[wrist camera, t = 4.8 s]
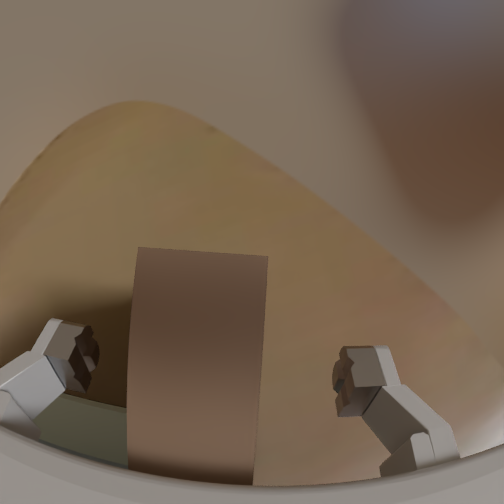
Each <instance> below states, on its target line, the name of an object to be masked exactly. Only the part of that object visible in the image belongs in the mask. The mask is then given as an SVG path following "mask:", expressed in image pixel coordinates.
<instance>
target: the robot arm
mask: <svg viewBox="0 0 504 504" xmlns="http://www.w3.org/2000/svg"><path fill="white" fill-rule="evenodd" d="M92 335H93V331H92V328H91V326H89V325H84V324H79V323H75V322H70V321H65V320H60V319H55V318H52V319H50V320H49V321H48V322H47V324H46V326H45V327H44V329H43V331H42V332H41V334H40V336H39V338H38V339H37V341H36V343H35V344H34V346H33V348H32V350H31V352H30V351H26V352H25V353H23V354H22V355H20V356H19V357H17V358H15V359H14V360H12V361H11V362H9V363H8V364H6V365H5V366H3V367H2V368H0V504H504V444H501V445H499V446H496V447H493V448H491V449H488V450H485V451H482V452H479V453H476V454H473V455H470V456H467V457H464V458H460V455H459V451H458V448H457V445H456V441H455V438H454V435H453V432H452V429H451V426H450V425H449V424H448V423H447V422H446V421H445V420H444V419H442V418H441V417H440V416H439V415H438V414H437V413H436V412H435V411H434V410H433V409H431V408H430V407H429V406H428V405H427V404H426V403H425V402H424V401H423V400H421V399H420V398H419V397H418V396H417V395H416V394H415V393H414V392H413V391H412V390H410V389H409V388H408V387H407V386H406V385H401V383H400V380H399V377H398V374H397V371H396V368H395V365H394V362H393V359H392V356H391V353H390V350H389V348H388V347H387V346H343V347H342V348H341V350H340V353H339V356H340V360H338V361H337V362H335V365H334V368H333V374H332V383H333V389H334V390H335V391H336V392H337V393H338V396H337V398H336V400H335V403H336V409H337V415H338V417H355V416H362V418H363V420H364V421H365V422H366V423H367V425H368V426H369V427H370V428H371V430H372V431H373V432H374V433H375V435H376V436H377V437H378V438H379V440H380V441H381V442H382V443H383V444H384V446H385V447H386V448H387V449H388V451H389V452H390V453H391V454H392V455H391V456H390V457H389V458H388V459H386V460H385V461H384V462H383V463H382V464H381V465H380V473H381V477H379V478H373V479H366V480H359V481H351V482H342V483H331V484H317V485H297V486H253V485H232V484H219V483H208V482H198V481H190V480H183V479H176V478H169V477H163V476H158V475H152V474H147V473H142V472H137V471H132V470H128V469H124V468H119V467H115V466H111V465H108V464H104V463H100V462H96V461H93V460H90V459H86V458H83V457H80V456H76V455H73V454H70V453H67V452H64V451H61V450H59V449H56V448H53V447H50V446H48V445H45V444H42V443H40V442H38V440H39V438H40V435H41V431H40V429H39V427H38V426H37V425H36V424H35V423H34V422H33V421H32V420H33V419H34V418H35V417H36V416H37V415H38V414H40V413H41V412H42V411H43V410H44V409H45V408H46V407H47V406H48V405H49V404H50V403H52V402H53V401H54V400H55V399H56V398H57V397H58V396H59V395H60V394H61V393H63V392H64V391H65V389H69V390H74V391H78V392H82V393H86V392H87V389H88V387H89V384H90V382H91V379H92V377H91V374H90V372H91V371H92V370H94V369H95V368H96V366H97V364H98V361H99V346H98V344H97V342H96V341H95V340H94V339H93V338H92Z"/></svg>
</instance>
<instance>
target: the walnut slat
mask: <svg viewBox="0 0 504 504" xmlns="http://www.w3.org/2000/svg"><path fill="white" fill-rule="evenodd" d="M267 268H268V256H257V255H243V254H229V253H214V252H200V251H186V250H172V249H158V248H145V247H138V253H137V261H136V269H135V278H134V287H133V297H132V307H131V319H130V333H129V349H128V371H127V452H128V470H132V471H137V472H142V473H147V474H152V475H158V476H163V477H169V478H176V479H183V480H190V481H198V482H208V483H219V484H232V485H252V484H253V472H254V460H255V447H256V434H257V421H258V408H259V394H260V380H261V365H262V350H263V335H264V319H265V302H266V285H267Z"/></svg>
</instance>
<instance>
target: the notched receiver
mask: <svg viewBox="0 0 504 504" xmlns="http://www.w3.org/2000/svg"><path fill="white" fill-rule="evenodd" d="M32 421H33V422H34V423H35V424H36V425H37V426H38V427H39V429H40V431H41V435H40V438H39V440H38V442H40V443H42V444H45V445H48V446H50V447H53V448H56V449H59V450H61V451H64V452H67V453H70V454H73V455H76V456H80V457H83V458H86V459H90V460H93V461H96V462H100V463H104V464H108V465H111V466H115V467H119V468H124V469H128V452H127V408H123V407H118V406H114V405H109V404H104V403H100V402H96V401H92V400H88V399H84V398H80V397H76V396H72V395H68V394H65V393H61V394H60V395H59V396H58V397H57V398H56V399H55V400H54V401H53V402H52V403H50V404H49V405H48V406H47V407H46V408H45V409H44V410H43V411H42V412H41V413H40V414H38V415H37V416H36V417H35V418H34V419H33V420H32Z"/></svg>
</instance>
